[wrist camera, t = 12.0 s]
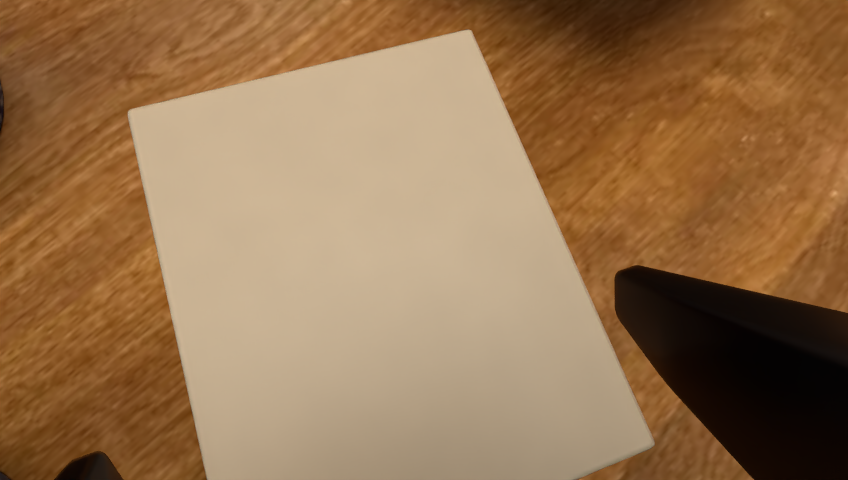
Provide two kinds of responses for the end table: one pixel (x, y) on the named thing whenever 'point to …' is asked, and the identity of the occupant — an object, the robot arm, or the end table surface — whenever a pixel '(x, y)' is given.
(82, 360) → the end table surface
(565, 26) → the end table surface
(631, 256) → the end table surface
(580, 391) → the plate
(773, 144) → the end table surface
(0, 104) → the dark blue cylinder
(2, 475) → the box
